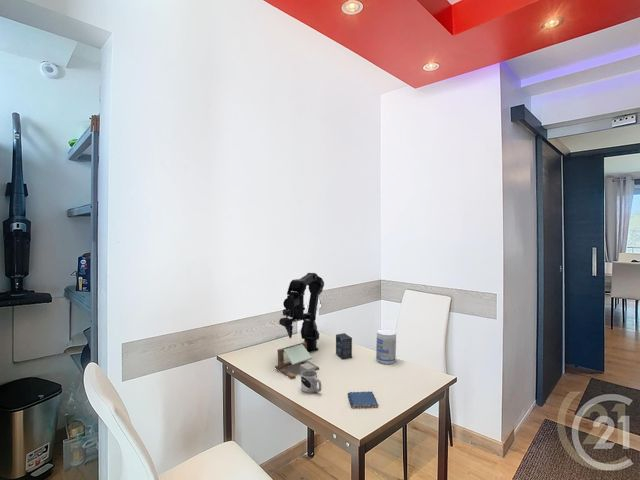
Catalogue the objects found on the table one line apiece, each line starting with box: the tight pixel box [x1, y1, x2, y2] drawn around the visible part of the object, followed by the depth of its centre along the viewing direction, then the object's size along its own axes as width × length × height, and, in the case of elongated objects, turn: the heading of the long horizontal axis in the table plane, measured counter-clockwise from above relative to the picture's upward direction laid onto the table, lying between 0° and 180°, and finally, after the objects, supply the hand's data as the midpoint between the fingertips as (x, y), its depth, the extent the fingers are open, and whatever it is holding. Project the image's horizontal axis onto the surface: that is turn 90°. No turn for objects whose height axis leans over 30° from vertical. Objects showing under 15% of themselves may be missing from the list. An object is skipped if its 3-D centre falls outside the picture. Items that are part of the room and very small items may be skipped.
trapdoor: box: [283, 343, 313, 366], centre depth 155 cm, size 9×11×1 cm
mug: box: [300, 370, 322, 394], centre depth 136 cm, size 10×7×7 cm, turn 47°
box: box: [335, 332, 353, 360], centre depth 172 cm, size 8×6×11 cm
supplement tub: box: [375, 328, 397, 365], centre depth 165 cm, size 10×10×15 cm
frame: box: [274, 341, 320, 380], centre depth 156 cm, size 14×16×10 cm
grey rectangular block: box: [299, 363, 317, 376], centre depth 150 cm, size 4×4×6 cm
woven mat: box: [347, 390, 379, 410], centre depth 128 cm, size 10×11×2 cm
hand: (298, 336), depth 165 cm, fingers open, 9 cm apart
